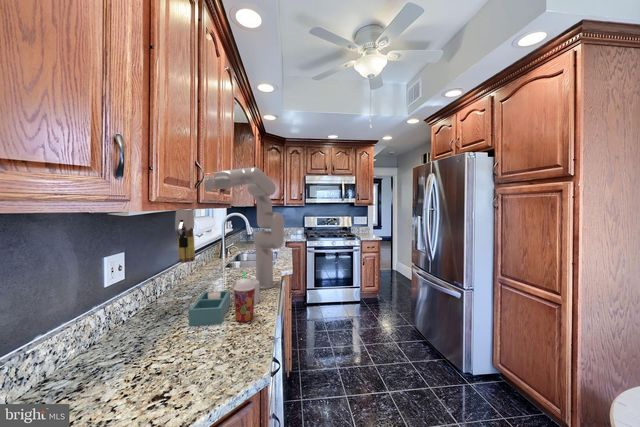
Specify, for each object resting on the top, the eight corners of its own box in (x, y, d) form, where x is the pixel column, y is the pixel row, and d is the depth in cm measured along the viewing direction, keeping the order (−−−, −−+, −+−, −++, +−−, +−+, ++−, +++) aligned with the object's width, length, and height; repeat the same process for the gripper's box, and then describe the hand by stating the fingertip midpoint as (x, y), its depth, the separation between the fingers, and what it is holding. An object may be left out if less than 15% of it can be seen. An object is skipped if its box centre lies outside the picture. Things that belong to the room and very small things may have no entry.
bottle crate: (204, 307, 123) (203, 292, 123) (230, 305, 125) (230, 290, 125) (189, 328, 102) (188, 310, 102) (220, 326, 104) (220, 308, 104)
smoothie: (254, 315, 114) (254, 268, 113) (256, 324, 106) (256, 273, 105) (233, 318, 111) (233, 269, 111) (233, 327, 103) (233, 274, 103)
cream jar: (209, 307, 121) (209, 291, 120) (221, 306, 122) (221, 291, 121) (206, 311, 116) (206, 295, 115) (219, 311, 116) (219, 294, 116)
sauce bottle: (196, 259, 119) (195, 214, 118) (193, 262, 113) (192, 214, 112) (179, 260, 117) (178, 214, 117) (176, 263, 111) (175, 214, 111)
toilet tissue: (261, 306, 125) (261, 284, 125) (233, 309, 121) (233, 286, 121) (258, 298, 135) (258, 278, 135) (232, 301, 131) (232, 280, 131)
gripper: (182, 203, 122) (183, 243, 123) (167, 203, 105) (168, 249, 106) (200, 203, 124) (201, 243, 124) (188, 203, 106) (189, 249, 107)
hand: (186, 245), depth 115 cm, fingers closed on sauce bottle, 6 cm apart
